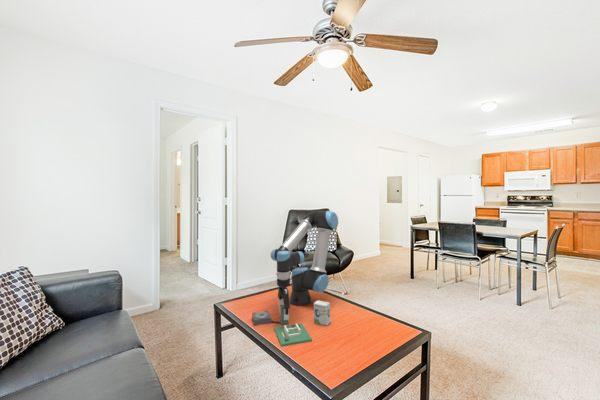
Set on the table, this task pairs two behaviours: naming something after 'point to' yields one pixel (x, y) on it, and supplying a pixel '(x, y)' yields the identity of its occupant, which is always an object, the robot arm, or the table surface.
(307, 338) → the board
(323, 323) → the ink box
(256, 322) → the speaker
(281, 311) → the plug
